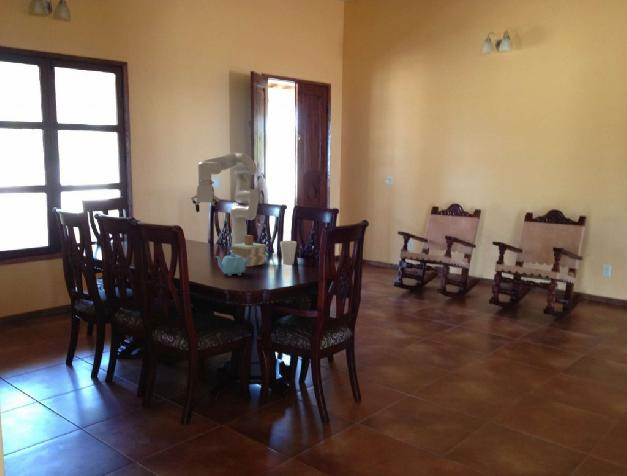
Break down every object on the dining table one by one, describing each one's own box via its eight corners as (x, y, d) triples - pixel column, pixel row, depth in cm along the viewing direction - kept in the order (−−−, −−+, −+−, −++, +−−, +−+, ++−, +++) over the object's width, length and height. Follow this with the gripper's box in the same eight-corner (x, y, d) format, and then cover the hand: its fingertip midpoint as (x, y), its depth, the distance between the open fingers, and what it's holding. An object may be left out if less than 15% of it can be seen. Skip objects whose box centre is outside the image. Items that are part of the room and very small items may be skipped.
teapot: (236, 278, 280) (236, 256, 278) (214, 275, 285) (214, 254, 284) (251, 273, 294) (251, 252, 292) (230, 270, 299) (230, 250, 298)
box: (249, 260, 331) (249, 244, 330) (265, 263, 323) (265, 246, 321) (232, 263, 321) (232, 246, 320) (248, 266, 312) (248, 249, 311)
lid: (249, 245, 331) (249, 233, 330) (266, 248, 321) (266, 235, 320) (231, 248, 320) (231, 235, 319) (248, 251, 310) (248, 237, 309)
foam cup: (298, 262, 325) (298, 241, 323) (291, 265, 317) (291, 243, 315) (284, 261, 329) (284, 240, 327) (277, 264, 321) (277, 242, 319)
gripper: (221, 183, 322) (221, 211, 324) (193, 182, 325) (194, 211, 327) (216, 183, 314) (217, 213, 317) (188, 183, 317) (189, 212, 320)
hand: (205, 212), depth 322 cm, fingers open, 9 cm apart
